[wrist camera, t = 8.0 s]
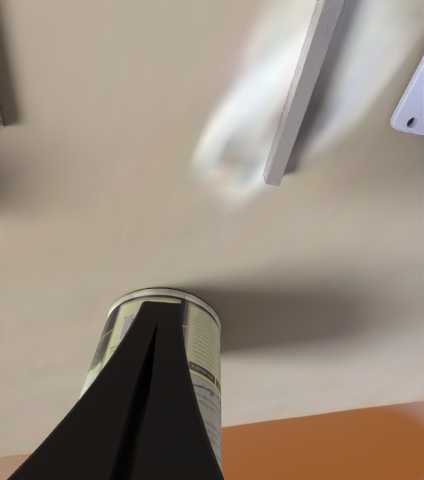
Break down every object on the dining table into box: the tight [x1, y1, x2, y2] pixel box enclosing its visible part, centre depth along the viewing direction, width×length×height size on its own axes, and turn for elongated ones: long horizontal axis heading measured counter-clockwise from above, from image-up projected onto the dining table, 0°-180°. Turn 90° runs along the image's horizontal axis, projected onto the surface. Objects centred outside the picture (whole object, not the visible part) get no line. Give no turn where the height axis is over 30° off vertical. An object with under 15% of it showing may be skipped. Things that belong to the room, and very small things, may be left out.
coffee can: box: [79, 289, 222, 472], centre depth 22 cm, size 10×10×14 cm
